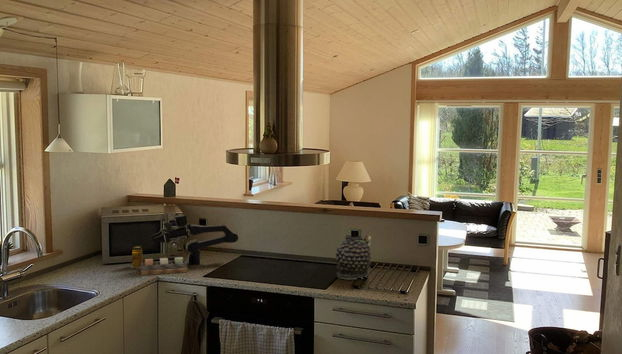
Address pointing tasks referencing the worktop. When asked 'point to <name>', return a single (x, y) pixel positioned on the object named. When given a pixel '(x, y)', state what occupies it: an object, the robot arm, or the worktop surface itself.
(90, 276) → the worktop surface
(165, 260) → the key cream
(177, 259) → the key sage
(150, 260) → the key terracotta
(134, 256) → the condiment
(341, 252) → the pine cone figurine
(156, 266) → the keypad
